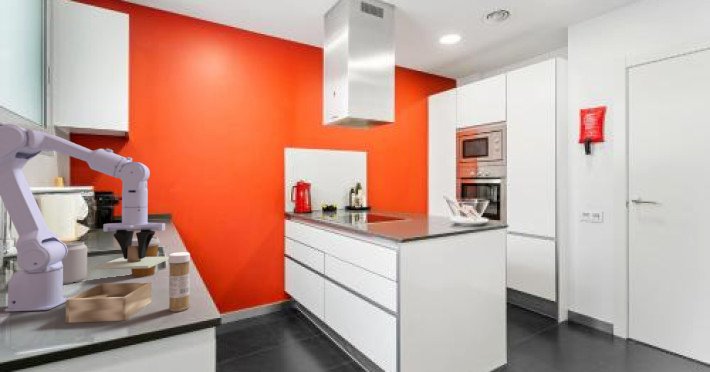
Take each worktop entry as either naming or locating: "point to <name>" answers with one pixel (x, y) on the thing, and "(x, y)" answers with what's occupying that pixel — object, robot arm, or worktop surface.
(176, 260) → the sprinkles bottle
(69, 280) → the can
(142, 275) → the disposable coffee cup
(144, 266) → the lid
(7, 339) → the worktop surface
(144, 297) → the box
